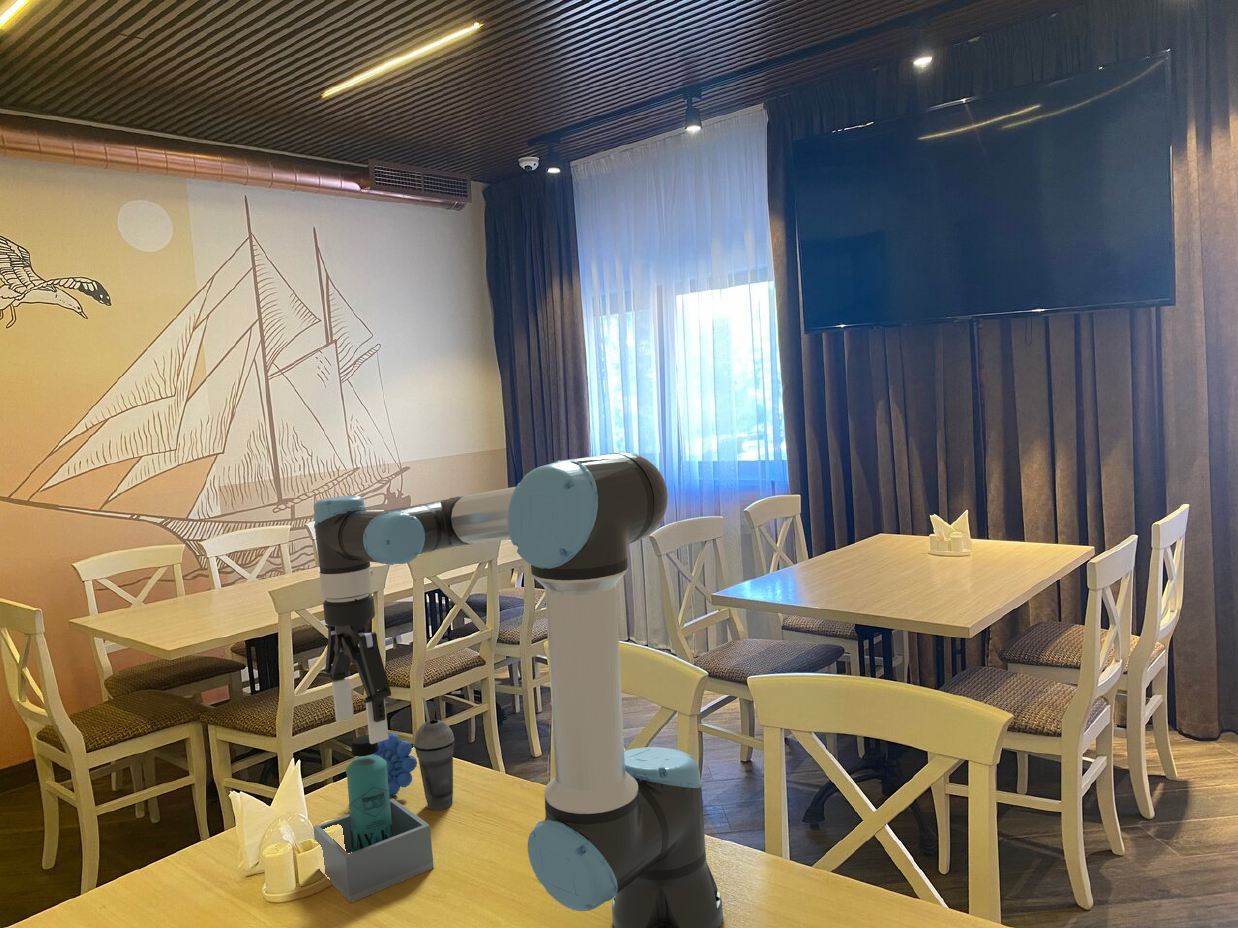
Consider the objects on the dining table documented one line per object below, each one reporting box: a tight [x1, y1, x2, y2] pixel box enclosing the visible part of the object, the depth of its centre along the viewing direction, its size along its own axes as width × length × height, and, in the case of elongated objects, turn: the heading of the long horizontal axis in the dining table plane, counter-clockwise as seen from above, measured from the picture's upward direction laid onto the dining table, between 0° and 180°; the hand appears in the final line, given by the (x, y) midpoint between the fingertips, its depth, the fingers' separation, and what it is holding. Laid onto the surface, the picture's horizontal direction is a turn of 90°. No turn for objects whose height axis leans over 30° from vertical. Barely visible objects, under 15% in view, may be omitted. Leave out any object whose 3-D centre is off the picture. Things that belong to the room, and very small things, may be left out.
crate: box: [313, 798, 435, 904], centre depth 143 cm, size 14×14×7 cm
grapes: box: [373, 733, 418, 797], centre depth 170 cm, size 12×7×12 cm, turn 75°
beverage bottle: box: [345, 734, 394, 852], centre depth 143 cm, size 6×7×20 cm
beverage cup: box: [413, 697, 456, 811], centre depth 164 cm, size 7×7×20 cm
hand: (361, 729), depth 142 cm, fingers open, 13 cm apart
